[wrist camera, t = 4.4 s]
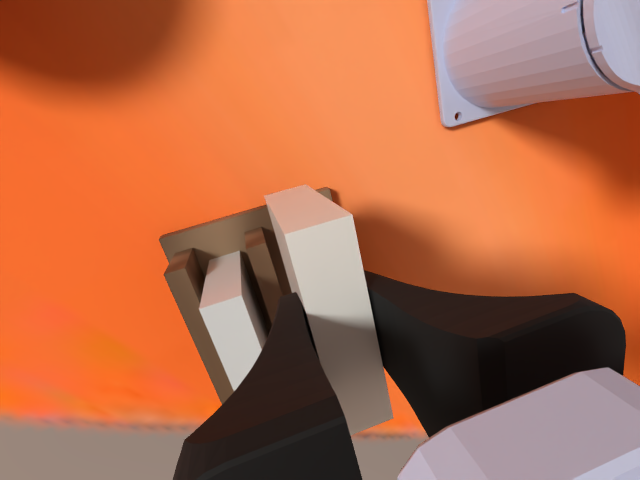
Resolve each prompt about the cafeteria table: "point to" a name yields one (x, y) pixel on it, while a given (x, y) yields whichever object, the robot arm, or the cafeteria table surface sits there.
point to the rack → (215, 241)
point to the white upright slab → (333, 299)
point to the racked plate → (233, 316)
